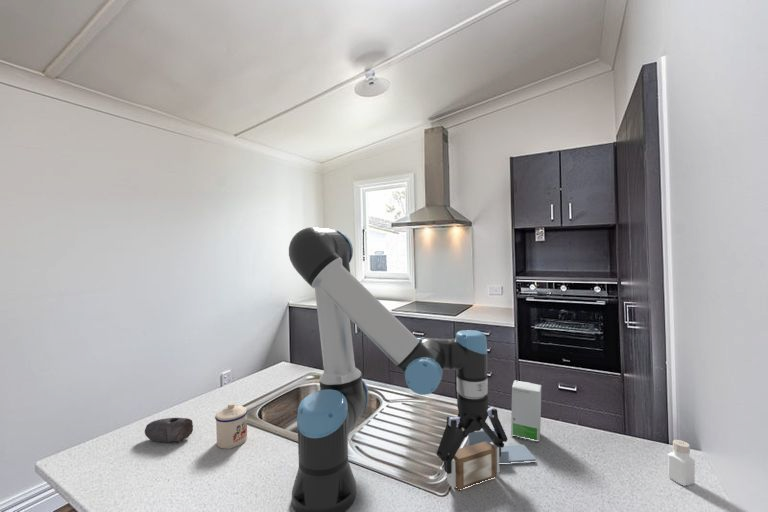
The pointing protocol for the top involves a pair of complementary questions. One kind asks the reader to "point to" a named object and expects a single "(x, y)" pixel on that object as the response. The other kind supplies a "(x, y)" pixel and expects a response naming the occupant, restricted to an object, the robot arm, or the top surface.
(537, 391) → the skincare box
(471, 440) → the picture ledge
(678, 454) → the pepper shaker
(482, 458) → the walnut frame
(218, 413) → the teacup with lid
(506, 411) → the top surface
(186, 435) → the perforated stone tool
